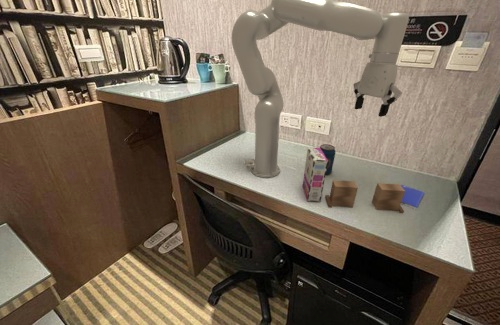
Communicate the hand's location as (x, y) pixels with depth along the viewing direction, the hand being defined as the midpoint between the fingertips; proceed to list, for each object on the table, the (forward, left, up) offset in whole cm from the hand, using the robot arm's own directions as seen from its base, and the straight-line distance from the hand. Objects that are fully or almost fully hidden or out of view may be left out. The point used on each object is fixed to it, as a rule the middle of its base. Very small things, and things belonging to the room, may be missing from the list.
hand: (369, 112), depth 83 cm
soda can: (-10, +7, -29) cm, 32 cm away
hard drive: (+18, -8, -30) cm, 35 cm away
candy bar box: (-17, -10, -29) cm, 35 cm away
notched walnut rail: (0, -15, -29) cm, 32 cm away
